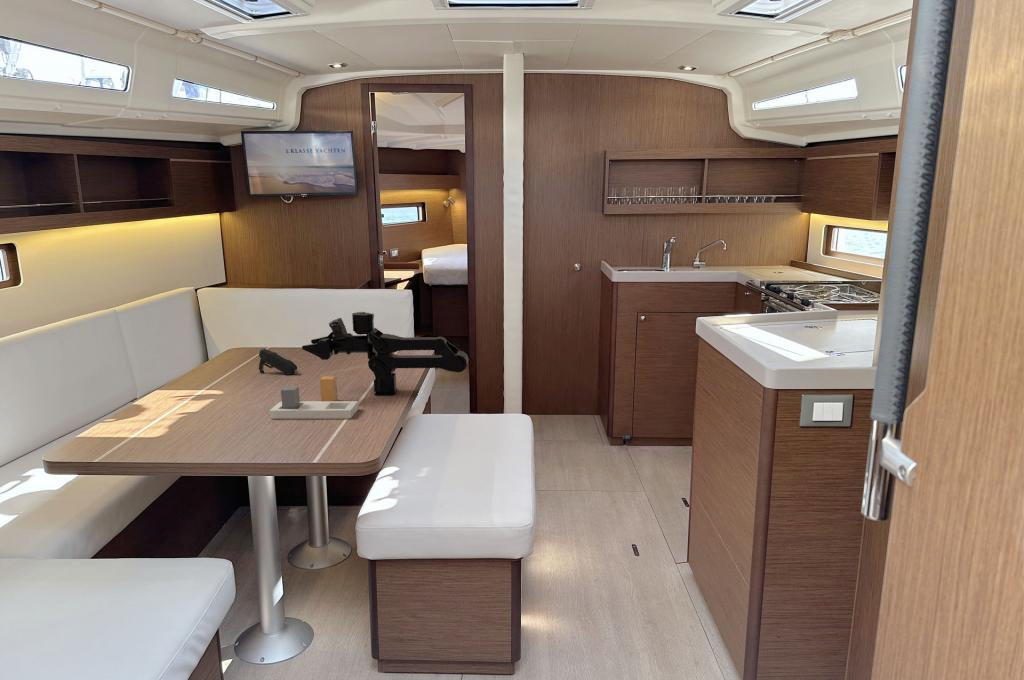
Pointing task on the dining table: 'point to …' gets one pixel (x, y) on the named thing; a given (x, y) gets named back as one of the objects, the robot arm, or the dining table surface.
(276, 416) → the white slotted frame
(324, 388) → the orange plug
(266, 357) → the gun
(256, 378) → the dining table surface
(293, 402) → the gray plug
